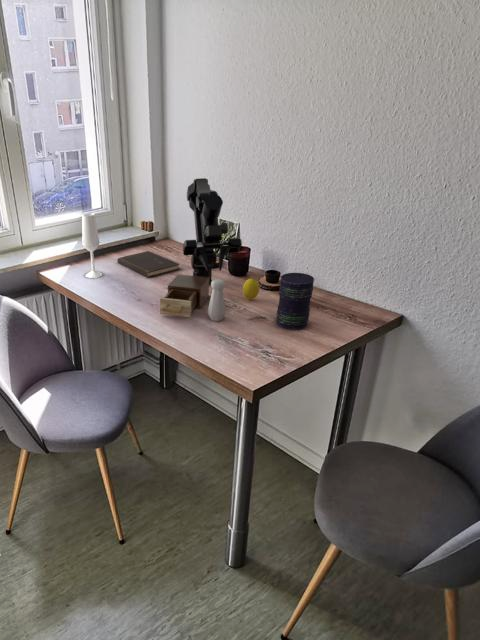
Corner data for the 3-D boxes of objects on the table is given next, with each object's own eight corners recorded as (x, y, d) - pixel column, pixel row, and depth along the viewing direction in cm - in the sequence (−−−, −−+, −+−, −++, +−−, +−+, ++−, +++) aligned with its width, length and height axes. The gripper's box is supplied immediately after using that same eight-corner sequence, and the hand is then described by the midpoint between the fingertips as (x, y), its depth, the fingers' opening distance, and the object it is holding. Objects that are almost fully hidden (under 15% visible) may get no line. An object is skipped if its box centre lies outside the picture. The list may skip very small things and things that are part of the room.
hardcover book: (148, 255, 222) (148, 250, 221) (179, 269, 206) (179, 263, 205) (117, 263, 215) (117, 258, 214) (147, 277, 199) (146, 272, 197)
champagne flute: (105, 273, 205) (100, 213, 192) (95, 278, 200) (89, 217, 187) (92, 271, 208) (86, 211, 195) (82, 276, 203) (75, 215, 190)
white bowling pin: (206, 315, 166) (207, 277, 159) (223, 314, 166) (225, 276, 160) (209, 322, 161) (210, 284, 154) (227, 321, 161) (229, 283, 155)
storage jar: (302, 332, 153) (308, 286, 145) (271, 326, 157) (275, 280, 149) (311, 320, 160) (318, 275, 152) (281, 314, 164) (286, 270, 156)
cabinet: (200, 308, 171) (200, 288, 167) (167, 304, 175) (167, 285, 171) (208, 296, 180) (209, 277, 177) (177, 292, 184) (177, 274, 180)
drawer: (186, 322, 160) (186, 307, 157) (155, 318, 163) (155, 303, 160) (198, 305, 171) (199, 290, 169) (170, 301, 175) (169, 287, 172)
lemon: (259, 298, 177) (261, 276, 173) (255, 304, 173) (257, 281, 168) (244, 296, 179) (246, 274, 175) (240, 301, 175) (241, 280, 170)
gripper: (184, 214, 159) (187, 260, 155) (242, 212, 159) (247, 257, 156) (181, 233, 170) (184, 275, 166) (236, 230, 170) (240, 273, 167)
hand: (214, 270), depth 163 cm, fingers open, 4 cm apart
